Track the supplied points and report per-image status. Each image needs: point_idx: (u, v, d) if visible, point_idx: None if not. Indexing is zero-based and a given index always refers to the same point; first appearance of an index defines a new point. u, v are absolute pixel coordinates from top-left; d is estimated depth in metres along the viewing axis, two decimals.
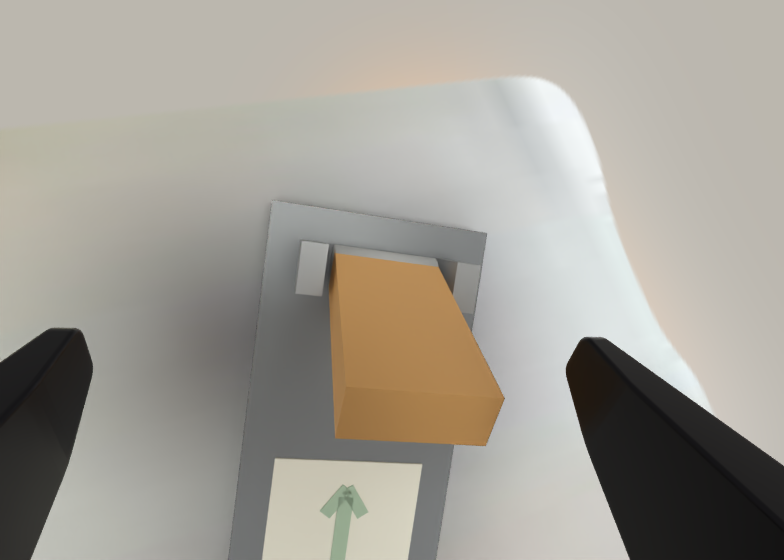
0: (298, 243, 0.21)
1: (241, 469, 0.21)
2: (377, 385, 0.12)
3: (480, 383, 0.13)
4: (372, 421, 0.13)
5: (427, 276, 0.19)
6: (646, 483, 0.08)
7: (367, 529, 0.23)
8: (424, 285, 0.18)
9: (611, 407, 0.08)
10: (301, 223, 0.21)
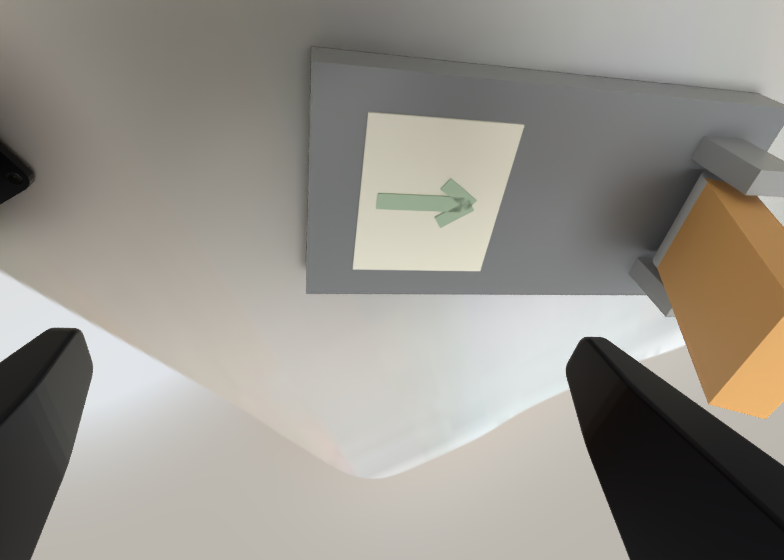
0: (741, 137, 0.20)
1: (519, 84, 0.17)
2: None
3: None
4: None
5: None
6: (646, 483, 0.08)
7: (416, 227, 0.20)
8: None
9: (611, 407, 0.08)
10: (757, 138, 0.20)
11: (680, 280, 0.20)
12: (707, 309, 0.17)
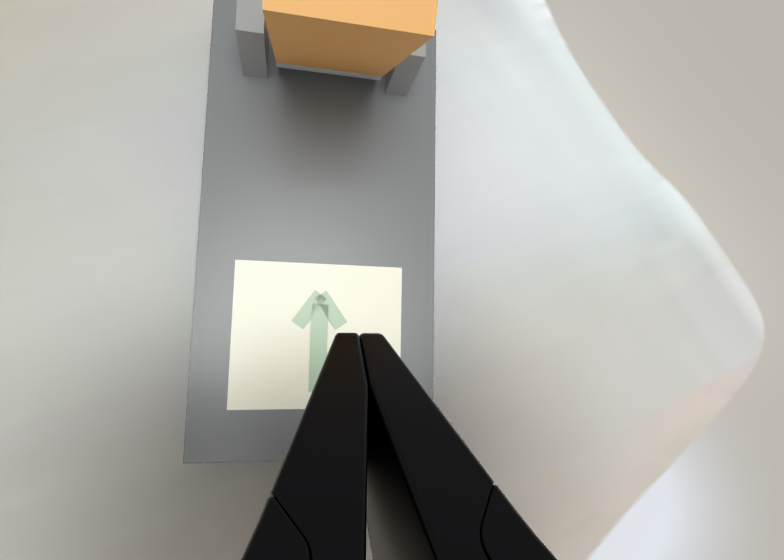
0: None
1: (198, 273, 0.19)
2: None
3: None
4: None
5: None
6: (379, 498, 0.07)
7: None
8: None
9: None
10: None
11: (366, 64, 0.18)
12: (359, 48, 0.15)
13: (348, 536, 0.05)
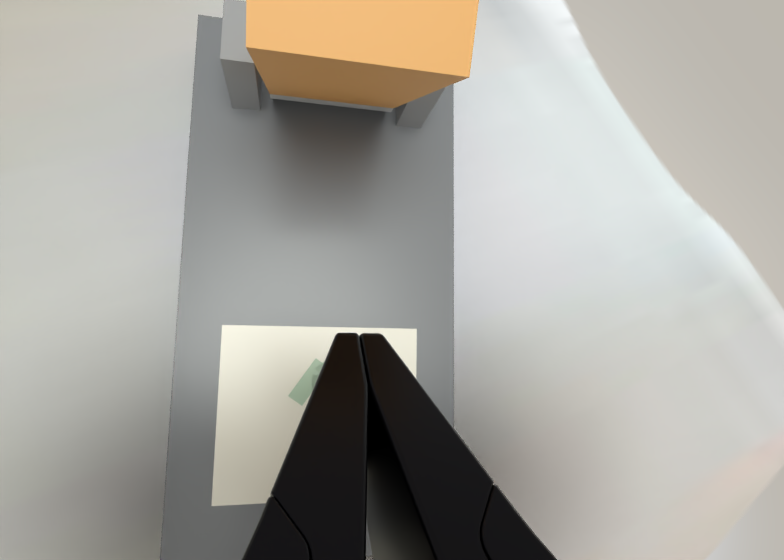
0: None
1: (178, 342, 0.16)
2: None
3: None
4: (297, 14, 0.09)
5: None
6: (379, 498, 0.07)
7: None
8: None
9: None
10: None
11: (377, 99, 0.15)
12: (369, 85, 0.12)
13: (348, 536, 0.05)
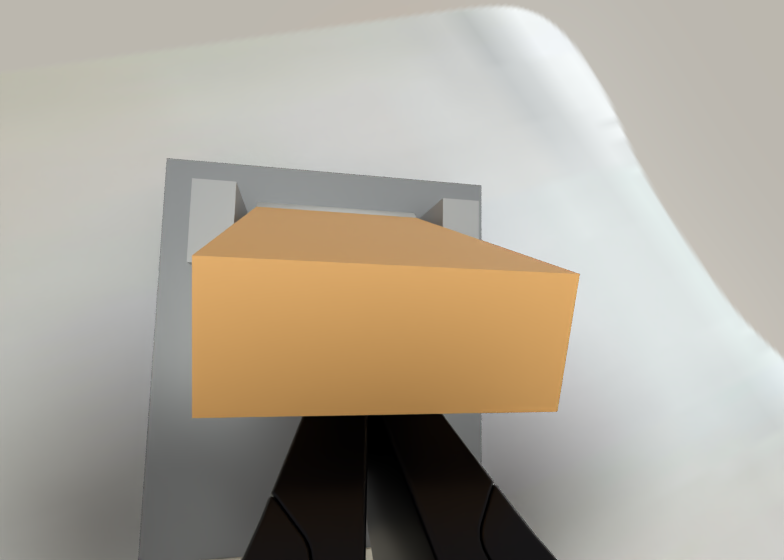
0: None
1: None
2: (276, 257, 0.05)
3: (517, 263, 0.06)
4: (279, 359, 0.05)
5: (399, 219, 0.12)
6: (379, 498, 0.07)
7: None
8: (394, 221, 0.12)
9: None
10: None
11: None
12: None
13: (348, 536, 0.05)
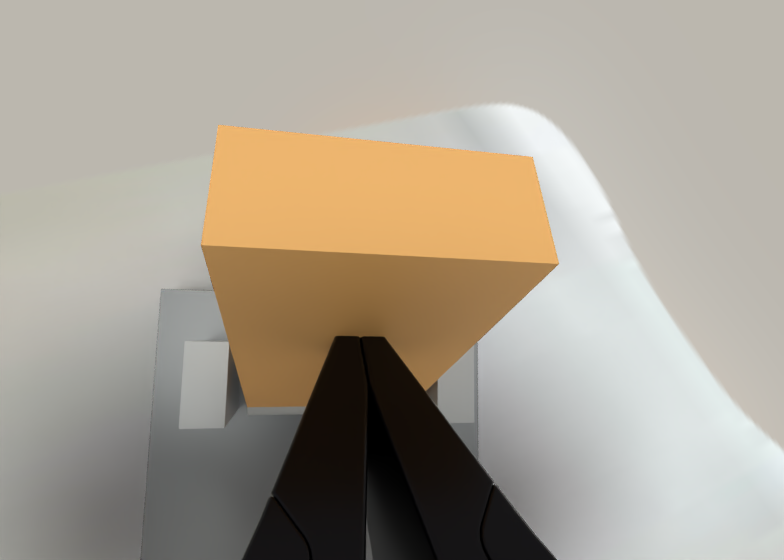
0: None
1: None
2: (284, 137, 0.06)
3: None
4: (286, 201, 0.06)
5: None
6: (379, 498, 0.07)
7: None
8: None
9: None
10: (206, 318, 0.14)
11: None
12: (390, 342, 0.09)
13: (348, 536, 0.05)
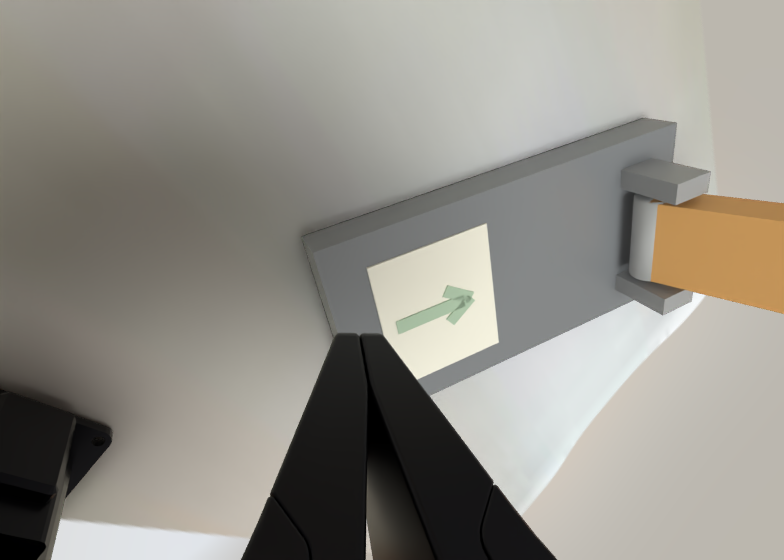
0: (649, 158, 0.24)
1: (471, 198, 0.21)
2: None
3: None
4: None
5: None
6: (379, 498, 0.07)
7: (435, 332, 0.23)
8: None
9: None
10: (661, 153, 0.24)
11: (704, 277, 0.23)
12: (776, 280, 0.21)
13: (348, 536, 0.05)
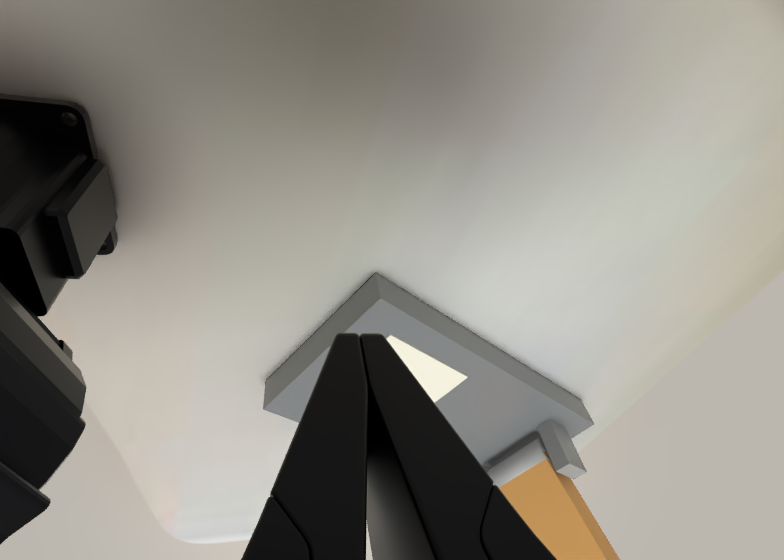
0: (564, 426, 0.32)
1: (478, 358, 0.26)
2: None
3: None
4: None
5: None
6: (379, 498, 0.07)
7: None
8: None
9: None
10: (571, 430, 0.33)
11: (525, 520, 0.30)
12: None
13: (348, 536, 0.05)
